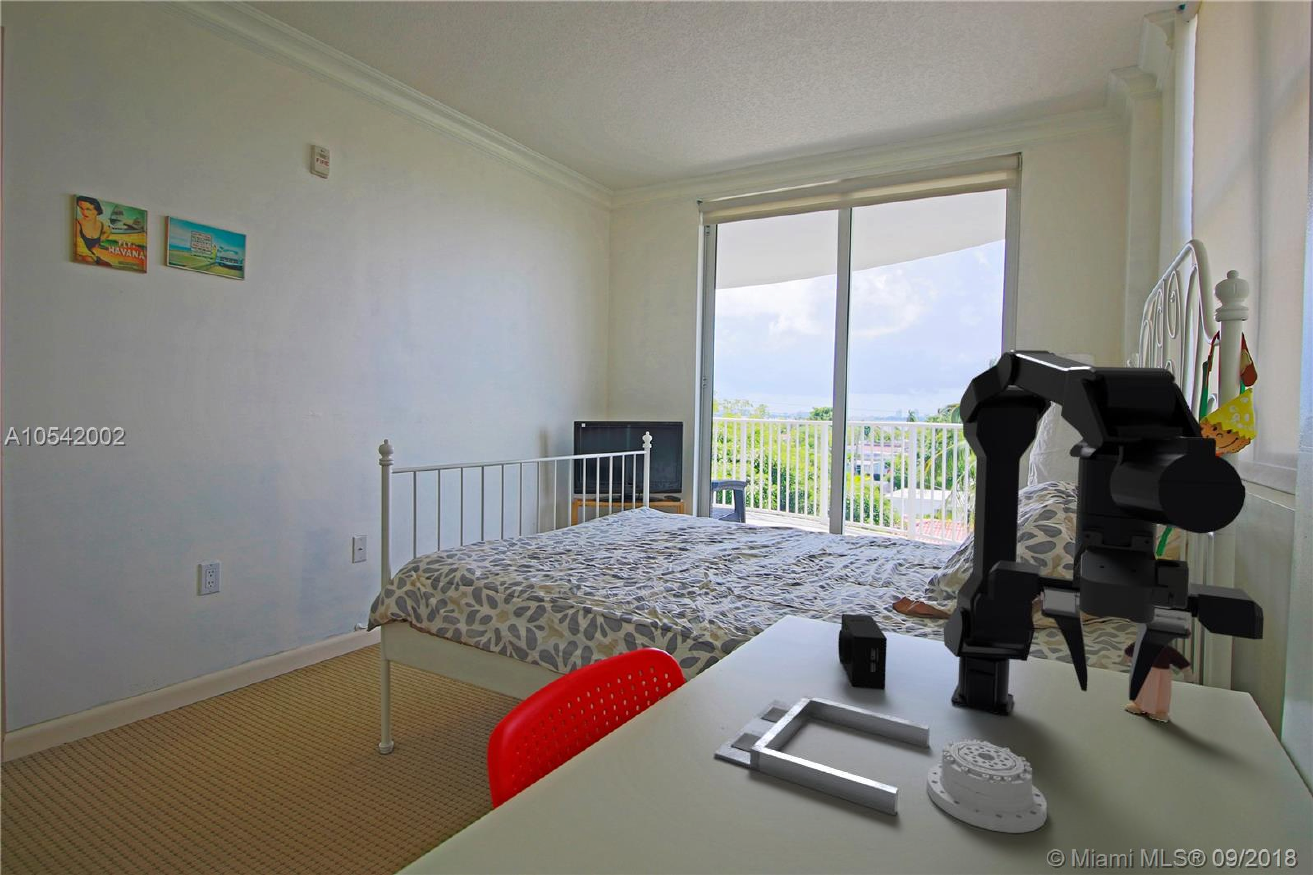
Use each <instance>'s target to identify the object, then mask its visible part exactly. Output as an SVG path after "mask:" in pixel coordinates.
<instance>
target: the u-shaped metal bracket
mask: <svg viewBox="0 0 1313 875" xmlns="http://www.w3.org/2000/svg"><path fill="white" fill-rule="evenodd" d="M809 718H815V719H819V720H822V721H825V722H830V723H834V724H837V725H841V726H844V727H848V728H852V729H856V730H860V731H862V732H863V731H864V732H866V733H870V734H875V735H878V736H882V737H885V738H889V739H894V740H897V741H901V742H904V743H907V744H911V745H914V746H915V745H916V746H919V747H923V748H926V749H927V748H928V746H929V744H930V725H927V724H922V723H919V722H914V721H910V720H908V719H907V720H906V719H903V718H900V717H895V716H892V715H887V714H883V713H880V712H875V711H871V710H869V709H863V708H859V707H857V706H856V707H855V706H851V705H847V704H843V703H840V702H836V701H832V700H827V699H823V698H820V697H816V696H813V695H808V694H805V695H804V696H803V697H802V698H801V699H800V700H799V701H798V702H797V703H796V704H792V703H788V702H784V701H780V700H776V699H774V700H772V701H771V702H770V703H769V704H767V705H766V707H765V708H763V709H762V710H761V711H760V712H759V713H757V714H756V715H755V716H754V717H753V718H752V719H750V720H749V721H748V722H747V723H746V724H745V725H744V726H743V727H742V728H741V729H739V730H738V731H737V732H736V733H735V734H734V735H733V736H732V737H731V738H729V739H728V740H727V741H726V742H725V743H724V744H722V745H721V746H720V747H719V748H718V749H717V750H716V751H714V753H713V754H714V758H717V759H720V760H724V761H727V762H731V763H733V764H736V765H739V766H742V767H745V768H748V769H752V770H754V771H758V772H761V773H763V774H766V775H769V776H773V777H775V778H779V779H782V780H785V781H787V782H791V783H794V784H797V785H800V786H803V787H806V788H809V789H813V790H815V791H818V792H821V793H823V794H824V793H825V794H827V795H831V796H834V797H837V798H840V799H843V800H846V801H848V802H849V801H850V802H852V803H855V804H858V805H862V806H865V807H867V808H870V809H873V810H876V811H880V812H883V813H885V814H889V815H891V816H896V814H897V811H898V800H899V797H898V796H899V788H898V787H894V786H892V785H888V784H885V783H881V782H878V781H875V780H872V779H869V778H866V777H862V776H859V775H856V774H852V773H850V772H845V771H843V770H840V769H836V768H832V767H829V766H827V765H823V764H820V763H816V762H813V761H810V760H806V759H803V758H800V757H797V756H795V755H790V754H788V753H787V754H786V753H783V752H781V751H780V750H781V749H782V747H784V746H785V744H786V743H788V741H790V739H791V738H792V737H793V736H794V735H795V734H796V733H797V732H798V730H799V729H800V728H801V727H802V726H803V725H804V724H805V723H806V722H807V721H808V720H809Z"/></svg>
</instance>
